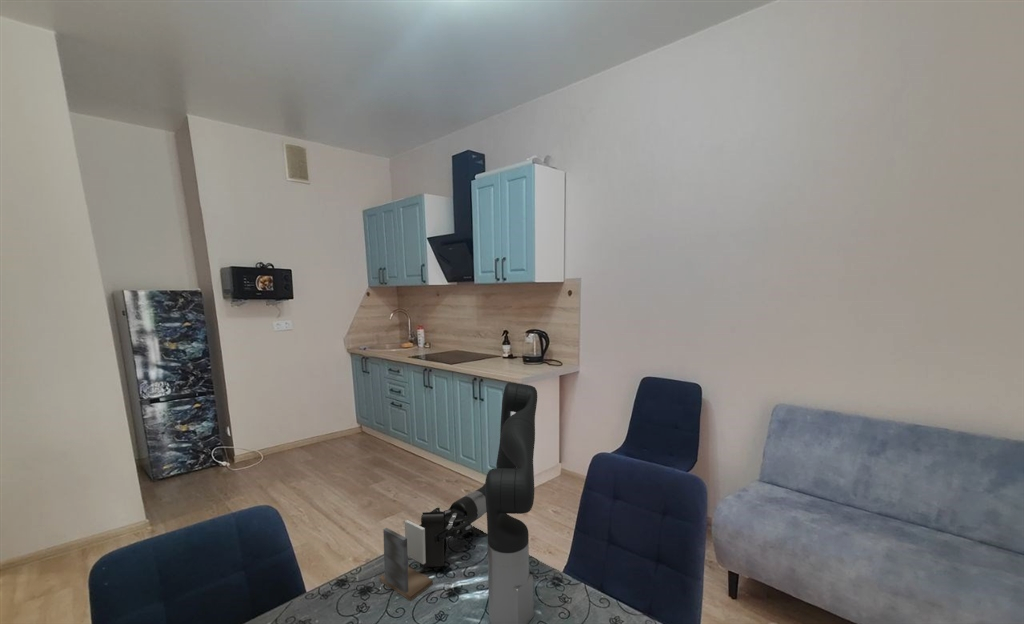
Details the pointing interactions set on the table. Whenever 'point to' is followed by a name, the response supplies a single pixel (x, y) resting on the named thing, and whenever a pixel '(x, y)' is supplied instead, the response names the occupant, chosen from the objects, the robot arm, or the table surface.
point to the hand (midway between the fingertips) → (426, 535)
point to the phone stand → (433, 550)
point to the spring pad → (415, 541)
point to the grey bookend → (401, 568)
